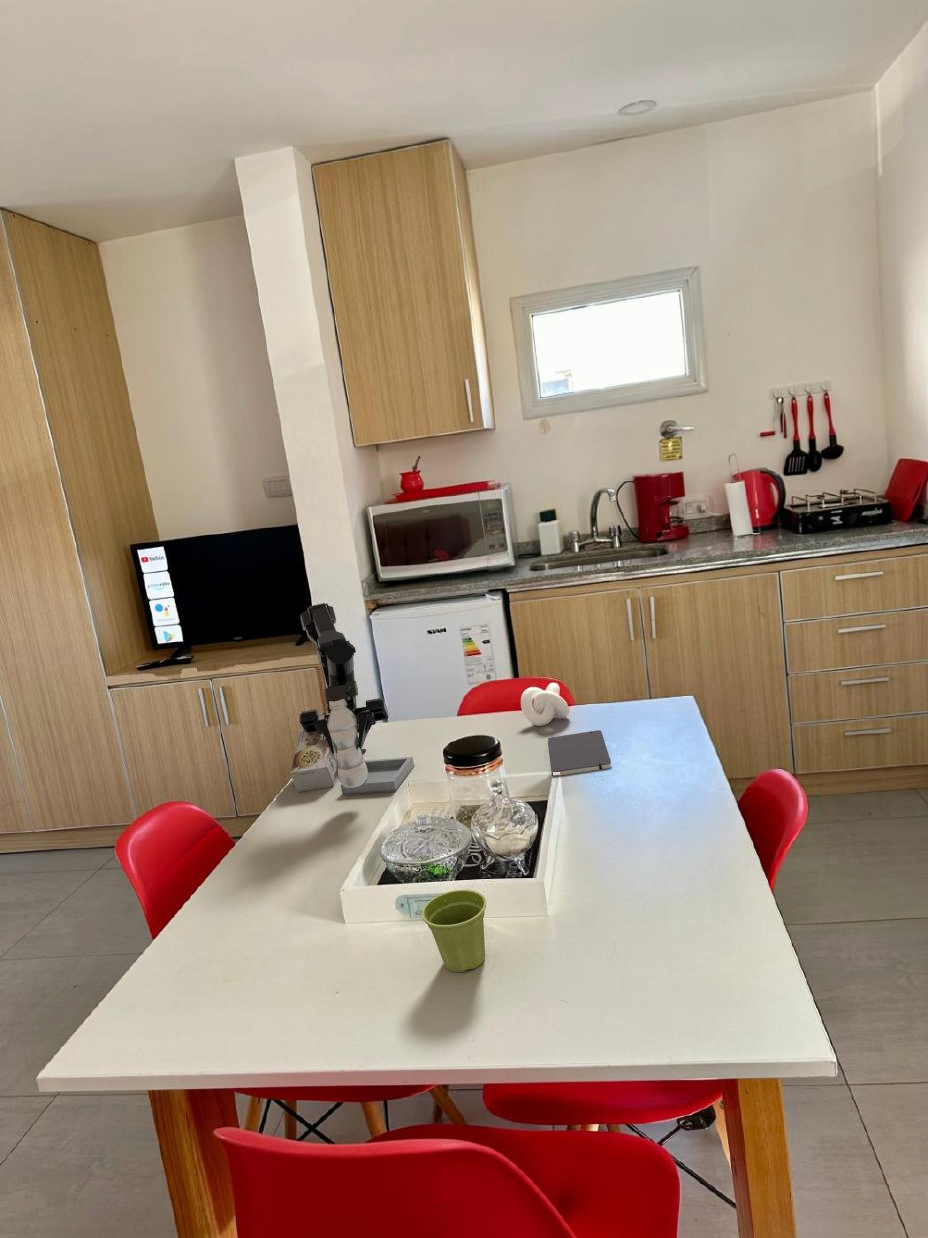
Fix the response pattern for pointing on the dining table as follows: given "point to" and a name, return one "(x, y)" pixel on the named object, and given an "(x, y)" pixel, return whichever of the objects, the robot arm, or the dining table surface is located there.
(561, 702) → the white knot sculpture
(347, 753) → the plastic bottle
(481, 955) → the plant pot
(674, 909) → the dining table surface
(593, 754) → the notebook
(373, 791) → the grey square tray
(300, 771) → the coffee box
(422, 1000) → the dining table surface
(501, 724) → the dining table surface
